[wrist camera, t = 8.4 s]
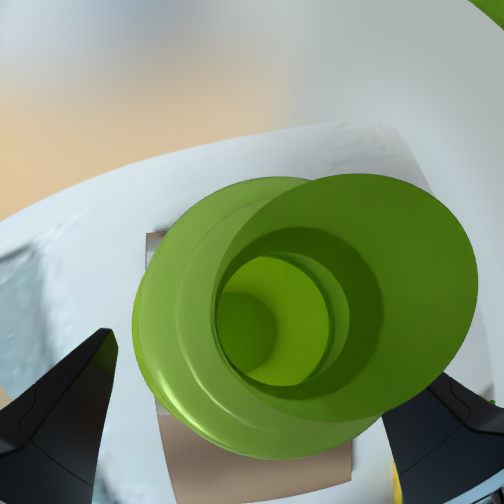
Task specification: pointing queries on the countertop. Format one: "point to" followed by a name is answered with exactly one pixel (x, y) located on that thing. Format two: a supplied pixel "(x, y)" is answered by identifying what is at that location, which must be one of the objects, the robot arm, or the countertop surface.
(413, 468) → the robot arm
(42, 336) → the countertop surface
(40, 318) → the countertop surface
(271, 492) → the walnut holder board
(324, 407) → the soap dispenser
